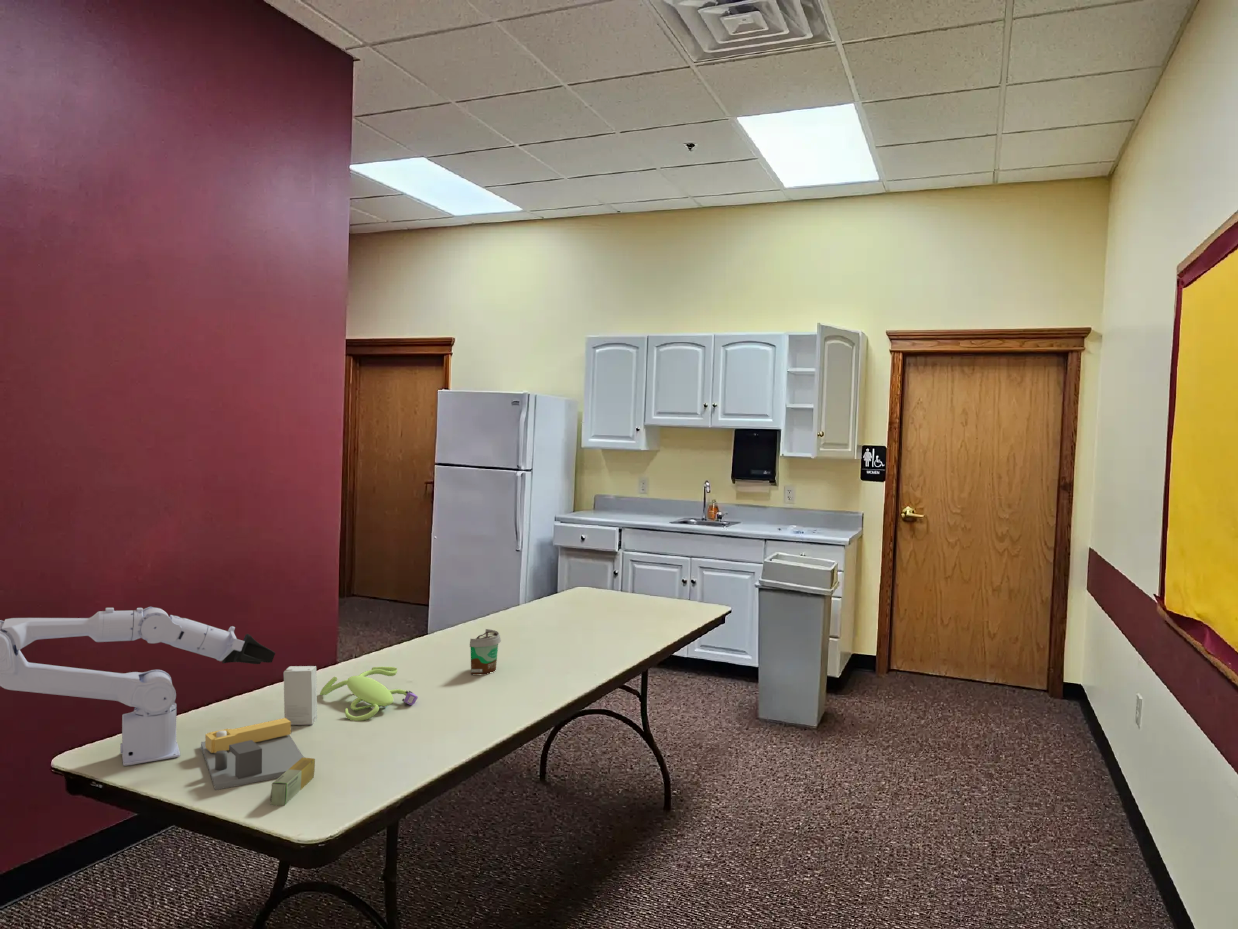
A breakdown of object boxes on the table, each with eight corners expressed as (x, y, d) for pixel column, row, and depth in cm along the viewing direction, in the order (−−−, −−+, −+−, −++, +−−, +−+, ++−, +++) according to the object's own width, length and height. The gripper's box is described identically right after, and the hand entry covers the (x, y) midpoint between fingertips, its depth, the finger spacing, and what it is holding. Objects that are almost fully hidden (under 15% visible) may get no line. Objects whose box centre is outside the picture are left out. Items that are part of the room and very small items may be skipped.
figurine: (389, 681, 212) (389, 660, 211) (430, 710, 190) (430, 687, 190) (315, 693, 201) (316, 670, 201) (350, 725, 179) (350, 700, 179)
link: (212, 754, 157) (212, 740, 157) (204, 746, 161) (204, 733, 161) (292, 735, 168) (292, 723, 168) (283, 729, 171) (283, 716, 171)
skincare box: (317, 718, 182) (318, 665, 181) (312, 726, 177) (312, 670, 177) (289, 719, 181) (289, 665, 181) (282, 726, 177) (283, 671, 176)
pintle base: (215, 790, 145) (215, 759, 145) (201, 747, 164) (201, 719, 164) (309, 771, 153) (309, 742, 153) (285, 733, 173) (285, 706, 173)
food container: (490, 678, 215) (491, 640, 215) (468, 676, 216) (469, 639, 216) (506, 665, 227) (507, 630, 227) (485, 664, 228) (486, 628, 228)
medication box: (284, 807, 139) (285, 784, 139) (269, 806, 139) (270, 783, 139) (314, 778, 151) (315, 757, 151) (300, 777, 151) (301, 756, 151)
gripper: (219, 616, 160) (285, 637, 167) (200, 622, 170) (263, 641, 177) (204, 652, 157) (272, 671, 164) (186, 655, 167) (251, 674, 174)
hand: (267, 658), depth 170 cm, fingers open, 7 cm apart
